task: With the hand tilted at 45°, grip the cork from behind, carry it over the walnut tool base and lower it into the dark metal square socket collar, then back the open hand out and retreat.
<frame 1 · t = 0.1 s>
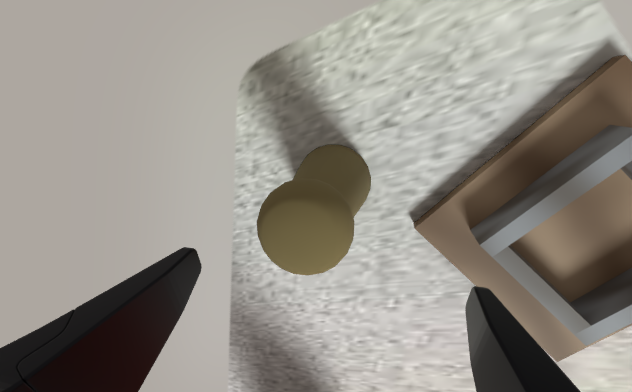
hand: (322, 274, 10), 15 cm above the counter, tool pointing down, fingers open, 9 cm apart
socket base: (577, 227, 22), on the counter
cork: (334, 180, 25), on the counter
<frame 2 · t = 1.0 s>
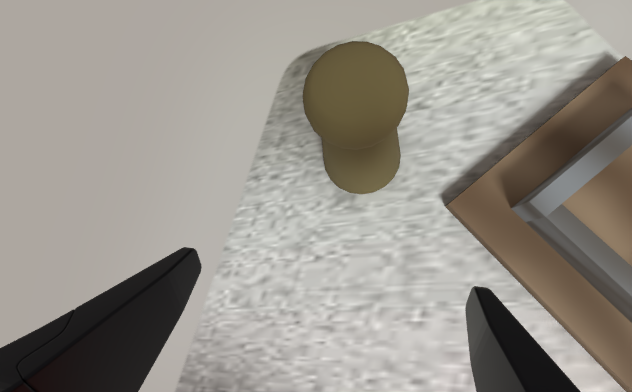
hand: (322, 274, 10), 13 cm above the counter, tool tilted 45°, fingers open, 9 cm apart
socket base: (627, 219, 20), on the counter
cork: (361, 157, 24), on the counter
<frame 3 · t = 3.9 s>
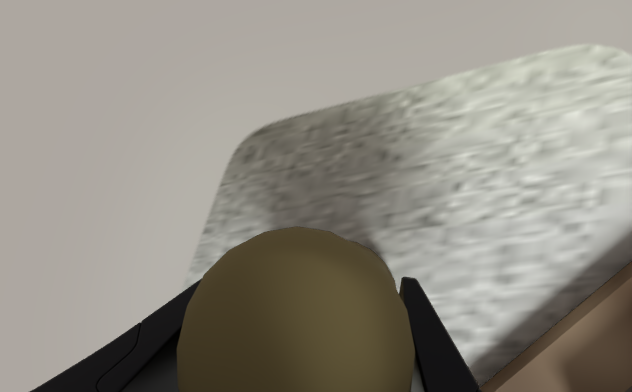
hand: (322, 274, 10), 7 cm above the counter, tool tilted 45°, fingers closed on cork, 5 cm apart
cork: (339, 297, 16), on the counter, touching gripper
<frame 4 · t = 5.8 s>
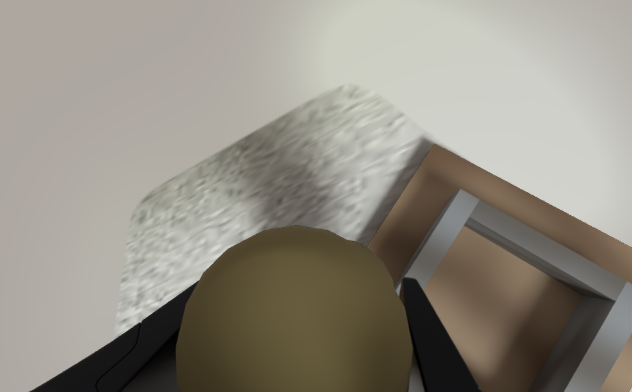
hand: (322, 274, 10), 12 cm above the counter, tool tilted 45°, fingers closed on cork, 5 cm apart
socket base: (478, 309, 20), on the counter
cork: (337, 295, 16), point 6 cm above the counter, touching gripper
when the fingers open (9 cm above the counter, at t = 7.9 s): cork drops 1 cm, resting on socket base.
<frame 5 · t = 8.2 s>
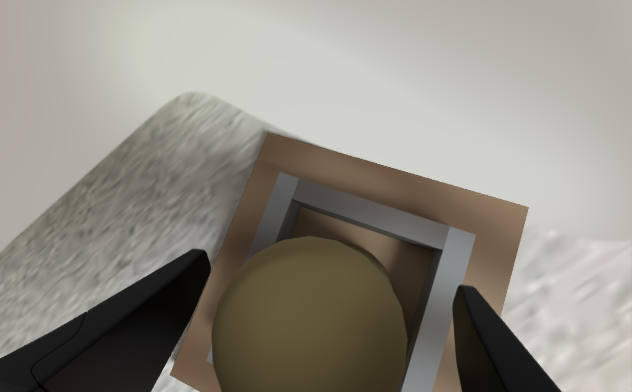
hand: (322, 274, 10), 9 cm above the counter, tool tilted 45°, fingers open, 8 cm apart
socket base: (343, 293, 18), on the counter
cork: (340, 296, 18), point 1 cm above the counter, touching socket base
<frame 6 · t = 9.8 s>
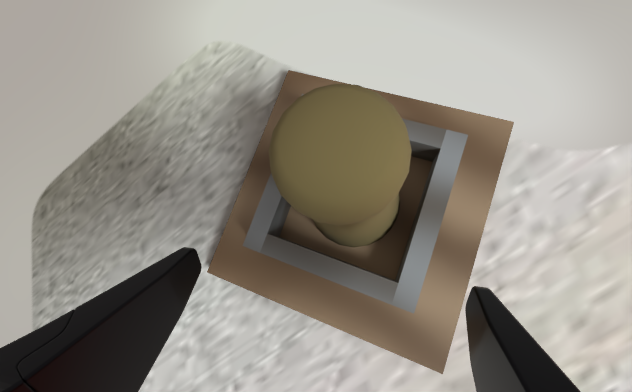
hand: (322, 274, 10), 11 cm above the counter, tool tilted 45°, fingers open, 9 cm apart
socket base: (355, 202, 21), on the counter
cork: (353, 202, 21), point 1 cm above the counter, touching socket base
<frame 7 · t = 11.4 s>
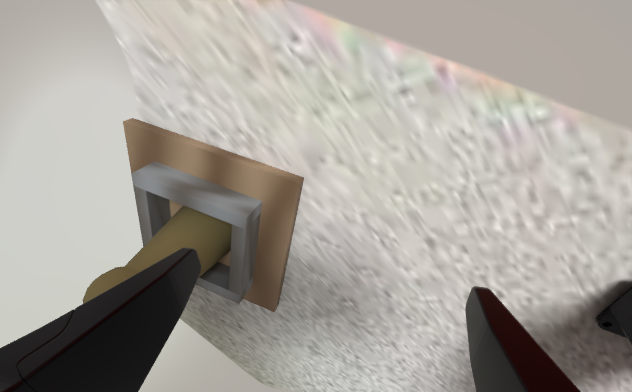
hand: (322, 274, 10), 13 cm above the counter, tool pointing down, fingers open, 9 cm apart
socket base: (213, 221, 29), on the counter
cork: (209, 226, 29), point 1 cm above the counter, touching socket base
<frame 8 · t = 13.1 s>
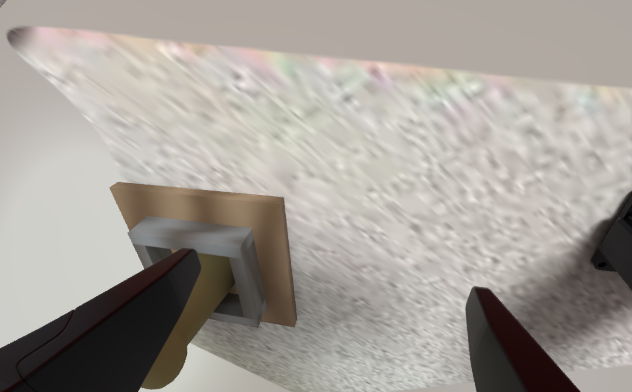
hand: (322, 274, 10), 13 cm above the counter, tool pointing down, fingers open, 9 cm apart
socket base: (215, 256, 31), on the counter
cork: (212, 262, 30), point 1 cm above the counter, touching socket base
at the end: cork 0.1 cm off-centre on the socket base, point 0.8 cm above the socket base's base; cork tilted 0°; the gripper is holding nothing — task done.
